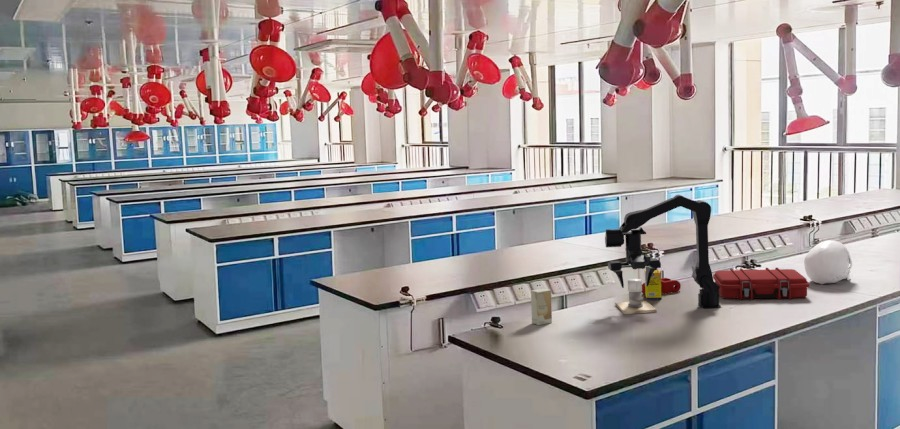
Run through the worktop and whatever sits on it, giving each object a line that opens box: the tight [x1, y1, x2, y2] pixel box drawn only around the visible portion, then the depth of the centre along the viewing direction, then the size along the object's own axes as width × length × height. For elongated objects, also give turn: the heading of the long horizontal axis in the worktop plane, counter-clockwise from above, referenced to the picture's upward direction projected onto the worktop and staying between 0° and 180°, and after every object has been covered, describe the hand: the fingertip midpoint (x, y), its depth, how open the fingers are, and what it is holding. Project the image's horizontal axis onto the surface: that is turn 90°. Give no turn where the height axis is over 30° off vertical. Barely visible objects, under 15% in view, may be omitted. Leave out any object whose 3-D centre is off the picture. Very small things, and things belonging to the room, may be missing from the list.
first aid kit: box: [712, 267, 810, 301], centre depth 290 cm, size 32×23×9 cm
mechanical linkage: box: [641, 277, 682, 295], centre depth 302 cm, size 16×7×5 cm, turn 110°
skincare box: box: [530, 288, 553, 326], centre depth 266 cm, size 6×4×12 cm
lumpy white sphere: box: [803, 239, 853, 285], centre depth 302 cm, size 16×20×22 cm
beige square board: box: [615, 291, 658, 315], centre depth 278 cm, size 12×14×7 cm
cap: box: [627, 278, 643, 293], centre depth 277 cm, size 5×5×4 cm
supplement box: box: [644, 269, 662, 301], centre depth 293 cm, size 6×6×11 cm
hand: (634, 286), depth 277 cm, fingers open, 9 cm apart
